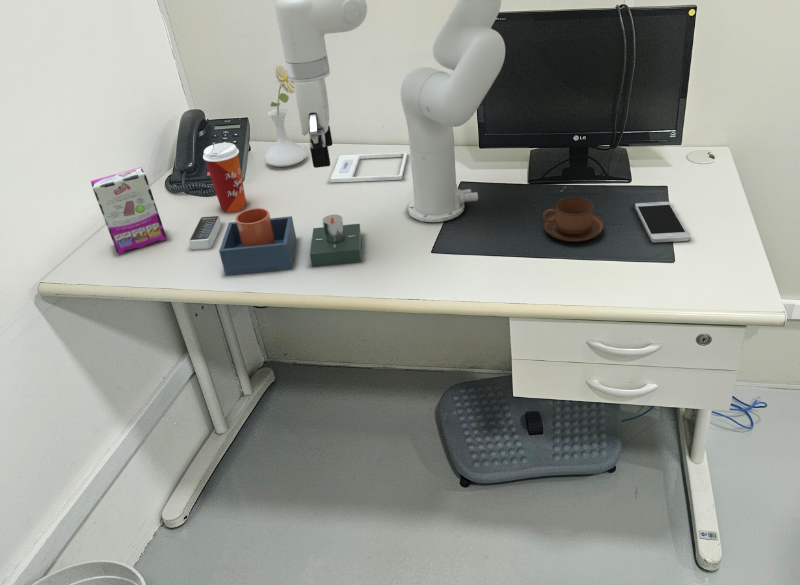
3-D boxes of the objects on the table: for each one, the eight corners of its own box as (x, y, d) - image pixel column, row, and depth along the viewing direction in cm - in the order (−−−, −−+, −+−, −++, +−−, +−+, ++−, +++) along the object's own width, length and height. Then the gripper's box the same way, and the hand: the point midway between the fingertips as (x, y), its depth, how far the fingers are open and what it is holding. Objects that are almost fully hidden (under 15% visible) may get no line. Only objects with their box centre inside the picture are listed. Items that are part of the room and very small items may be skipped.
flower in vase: (289, 173, 184) (270, 77, 170) (257, 166, 190) (236, 73, 176) (320, 154, 193) (305, 62, 179) (288, 148, 199) (271, 58, 185)
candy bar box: (163, 231, 163) (142, 165, 154) (167, 240, 160) (146, 173, 150) (113, 246, 160) (89, 179, 150) (117, 255, 156) (92, 187, 147)
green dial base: (361, 235, 153) (359, 222, 151) (360, 262, 144) (359, 248, 142) (315, 240, 153) (313, 227, 152) (312, 266, 144) (309, 253, 142)
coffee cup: (243, 215, 167) (229, 155, 158) (211, 214, 168) (195, 155, 160) (256, 199, 173) (243, 141, 165) (225, 198, 175) (210, 141, 167)
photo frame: (339, 154, 188) (407, 151, 186) (340, 158, 189) (407, 155, 187) (329, 178, 176) (401, 175, 174) (330, 182, 177) (401, 179, 175)
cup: (278, 244, 152) (270, 206, 147) (275, 260, 146) (266, 222, 141) (247, 247, 152) (238, 209, 147) (242, 263, 146) (233, 225, 141)
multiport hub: (191, 249, 155) (188, 240, 154) (203, 225, 164) (200, 216, 163) (210, 248, 155) (208, 239, 153) (221, 224, 164) (219, 215, 162)
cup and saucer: (554, 251, 141) (555, 223, 137) (535, 223, 151) (536, 197, 147) (612, 241, 142) (615, 214, 138) (590, 214, 152) (591, 188, 148)
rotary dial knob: (326, 234, 149) (322, 214, 146) (344, 232, 149) (341, 212, 146) (325, 244, 145) (322, 223, 143) (345, 241, 145) (341, 221, 143)
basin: (296, 239, 154) (291, 216, 151) (291, 268, 144) (286, 244, 141) (234, 245, 155) (228, 222, 151) (225, 275, 145) (218, 251, 141)
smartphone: (652, 242, 140) (652, 238, 139) (634, 206, 152) (634, 202, 152) (689, 240, 139) (690, 236, 138) (668, 204, 152) (668, 200, 151)
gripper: (291, 56, 135) (307, 141, 144) (282, 85, 120) (300, 177, 130) (330, 51, 134) (343, 136, 144) (326, 80, 120) (341, 172, 130)
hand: (323, 155), depth 137 cm, fingers open, 9 cm apart
